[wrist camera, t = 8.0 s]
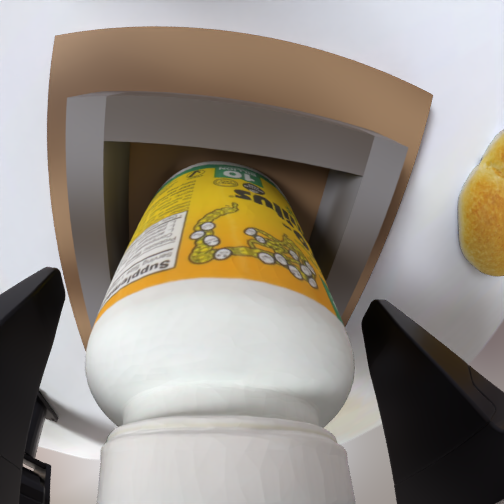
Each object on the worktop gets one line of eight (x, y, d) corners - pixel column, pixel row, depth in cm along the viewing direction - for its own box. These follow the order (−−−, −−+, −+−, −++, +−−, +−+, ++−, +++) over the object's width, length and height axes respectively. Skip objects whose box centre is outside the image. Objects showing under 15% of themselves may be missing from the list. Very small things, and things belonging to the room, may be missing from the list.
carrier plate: (290, 404, 21) (298, 449, 17) (108, 390, 19) (98, 435, 15) (419, 92, 9) (486, 108, 6) (67, 37, 7) (4, 31, 4)
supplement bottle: (121, 218, 10) (7, 479, 2) (234, 125, 9) (289, 496, 1) (212, 303, 13) (213, 534, 5) (317, 238, 12) (422, 489, 3)
